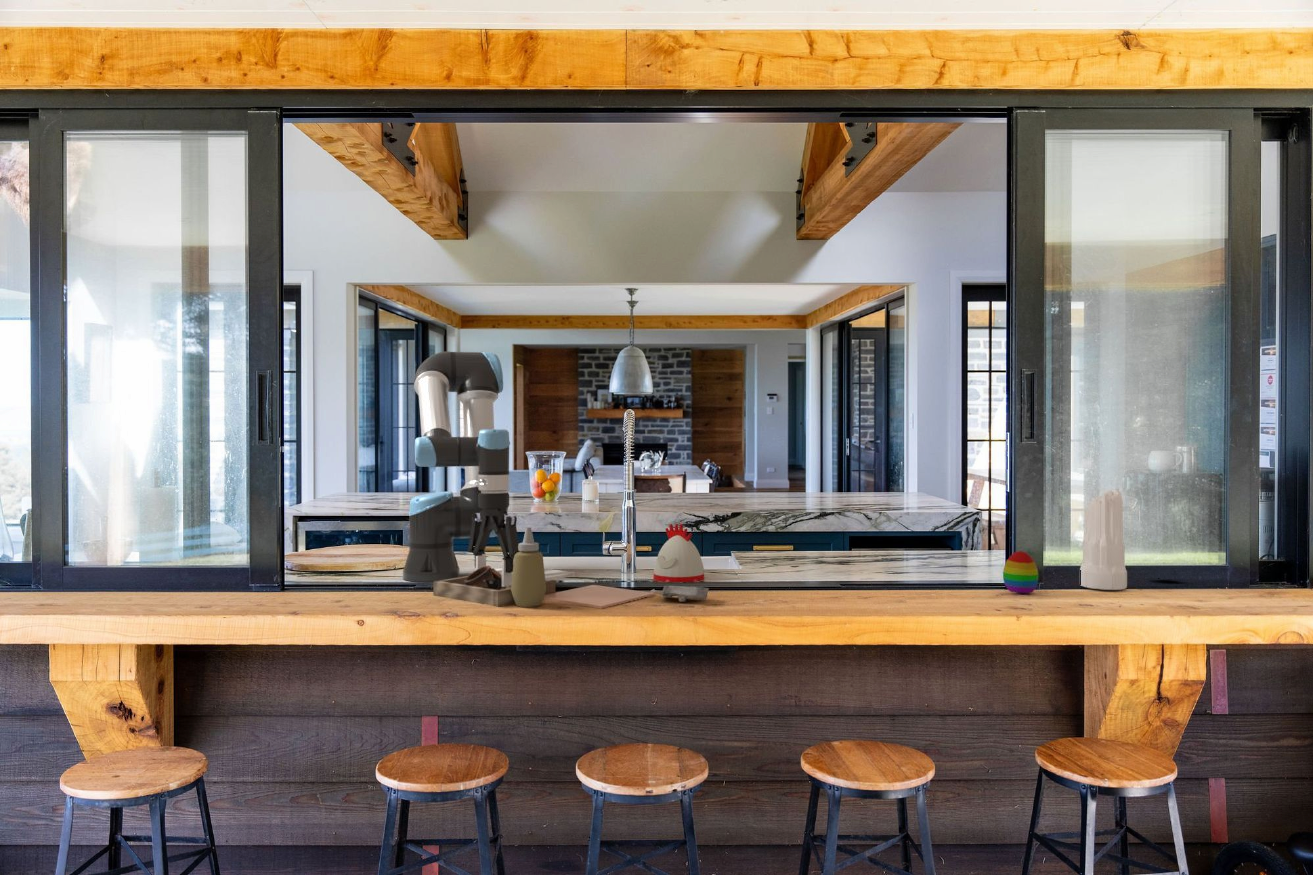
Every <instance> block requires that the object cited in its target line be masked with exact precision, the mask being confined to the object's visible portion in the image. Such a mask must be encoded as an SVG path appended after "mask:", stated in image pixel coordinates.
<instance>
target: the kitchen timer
mask: <svg viewBox="0 0 1313 875" xmlns="http://www.w3.org/2000/svg"><path fill="white" fill-rule="evenodd" d="M665 532H666V535H667V538H668V540H666V542H665V543H663V545H662V547H660V550H659V551H658V554H657V557H656V561H655V564H654V567H653V580H654V581H657V582H660V583H667V582H693V583H698V582H697V581H699V582H702V581H701V580H703V581H704V580H705V569H704V568H705V567H704V563H703V560H702V556H701V555H700V553H699V550H698V548H697V547H696V545H695V544H694V543H693V542H692V541H691V538H692V535H693V533H692V532H690V533H687V532H688V528H685V529H684V525H683V523H680V524H678V523H675V525H673V523H670V524H669V528H668V527H665ZM687 534H688V535H687Z"/></svg>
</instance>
